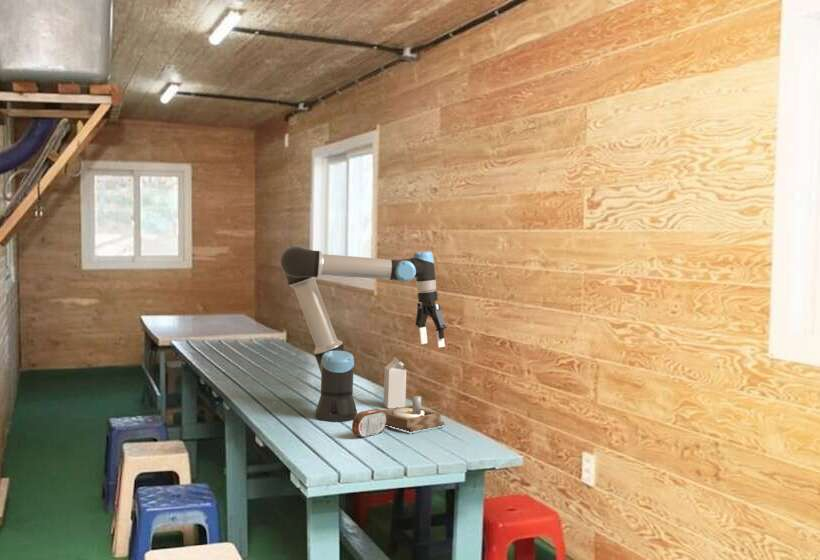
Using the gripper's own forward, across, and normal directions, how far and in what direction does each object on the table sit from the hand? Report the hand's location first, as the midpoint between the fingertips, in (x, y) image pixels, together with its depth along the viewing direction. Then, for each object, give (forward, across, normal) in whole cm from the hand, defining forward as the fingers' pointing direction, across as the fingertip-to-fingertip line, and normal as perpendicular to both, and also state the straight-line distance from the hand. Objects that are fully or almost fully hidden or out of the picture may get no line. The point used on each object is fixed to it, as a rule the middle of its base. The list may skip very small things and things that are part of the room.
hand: (432, 345), depth 296 cm
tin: (+21, -27, +42) cm, 54 cm away
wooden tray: (+23, -20, +24) cm, 38 cm away
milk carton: (+23, +8, +15) cm, 29 cm away
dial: (+20, -20, +23) cm, 37 cm away
